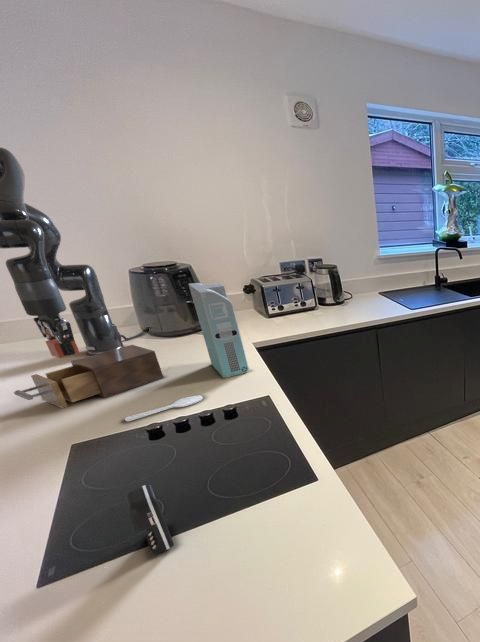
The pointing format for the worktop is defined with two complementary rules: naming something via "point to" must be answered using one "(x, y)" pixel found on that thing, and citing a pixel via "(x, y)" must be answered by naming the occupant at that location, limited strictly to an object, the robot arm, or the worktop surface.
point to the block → (59, 348)
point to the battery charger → (149, 518)
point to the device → (219, 328)
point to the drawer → (63, 386)
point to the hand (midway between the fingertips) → (65, 353)
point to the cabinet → (122, 368)
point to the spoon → (167, 407)
